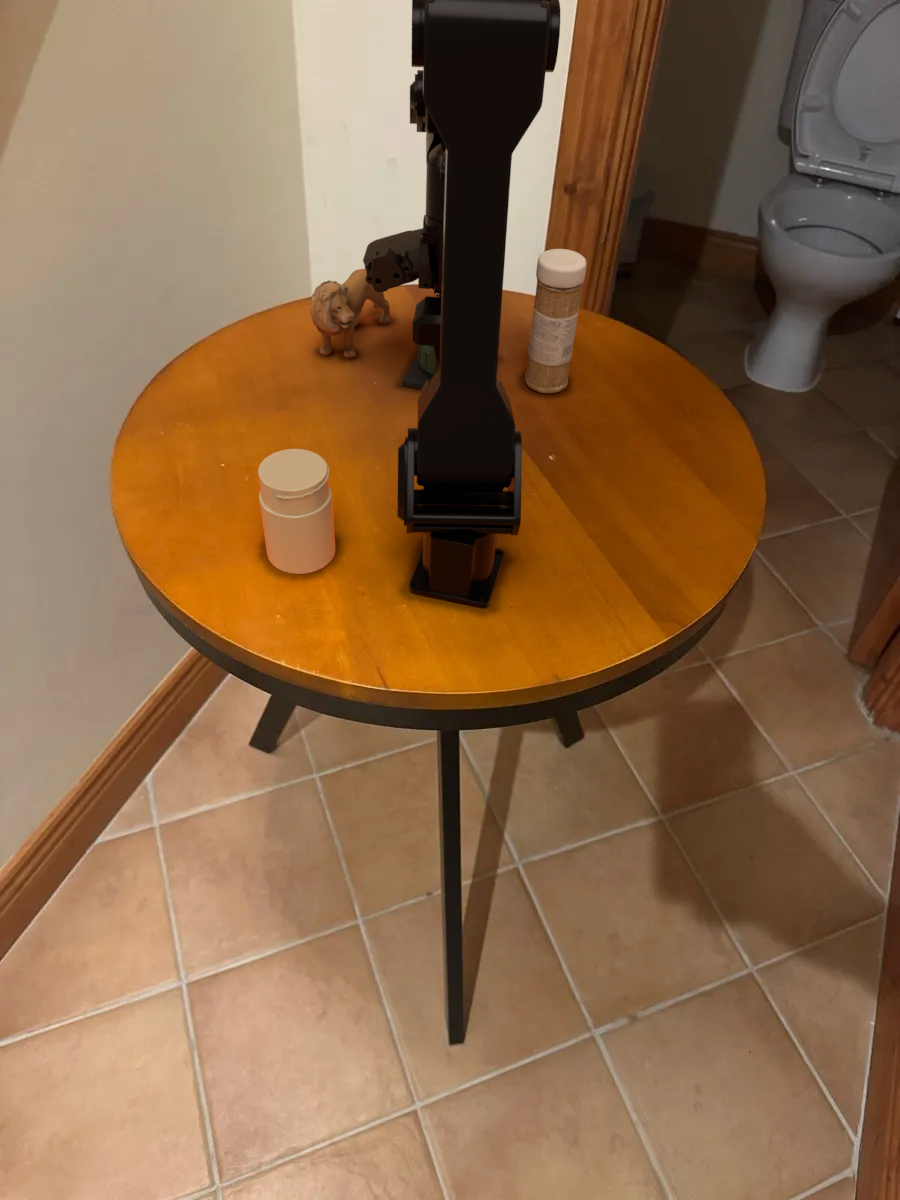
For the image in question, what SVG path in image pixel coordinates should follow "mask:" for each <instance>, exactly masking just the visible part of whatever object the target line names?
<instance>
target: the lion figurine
mask: <svg viewBox="0 0 900 1200" xmlns="http://www.w3.org/2000/svg"><path fill="white" fill-rule="evenodd" d="M367 300H368V301H370V302H371V303H372V304H373V308H376V309H381V310H382V313H381V315H380V317H379V322H380V323H381V324H389V323H390V322H391V314H390V313H391V312H390V303H389V301H388V300H387V299H386V298H385V294H384V292H375V290H374V288H373V285H372V284H369V283H367V282H366V269H365V268H359V269H356V270H354V271H353V272H351V274H350V275H349V277H348V278H347V279H346V280H345V281H344V282H343V283H342V284H341V283H339V282H338V281H336V280H327V281H323V282H321V283H320V284H319V285H318V286H316V287H315V289H314V292H313V293H312V295H311V306H310V315H311V321H312V324H313V325H314V326H315V327H316V329H317V331H318V332H319V333H320V334H321V340H322V342H323V345H322V346H320V347H319V353H320V354H321V355H324V356H327V355H329V354H331V353H332V350H333V345H332V344H333V342H332V338H335V337H340V336H341V335H343V357H344V358H347V359H351V358H355V357H356V351H355V346H354V336H355V327H356V326H357V325H358V322H359V319H360V316H361V314H362V311H363V308H364V306H365V303H366V301H367Z"/></svg>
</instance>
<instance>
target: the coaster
mask: <svg viewBox="0 0 900 1200" xmlns="http://www.w3.org/2000/svg"><path fill="white" fill-rule="evenodd" d="M433 376H434V375H432V374H430V373H428V372H426V371H425V370H423V369H422V368H421V367H420V365H419V363H418V358H417V354H415V356H414V358H413V360H412V362H411V364H410V366H409V367H408V370H407V371H406V373H405V375H404V377H403V379H402V381H401V386H402V387H406V388H413V389H418V390H422V388H423V386H424V384H425V382H426V381H427V380H431V379H432V377H433Z"/></svg>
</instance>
